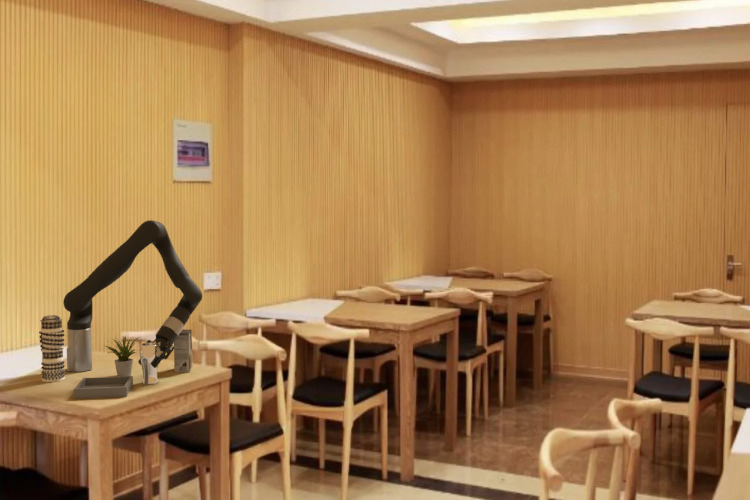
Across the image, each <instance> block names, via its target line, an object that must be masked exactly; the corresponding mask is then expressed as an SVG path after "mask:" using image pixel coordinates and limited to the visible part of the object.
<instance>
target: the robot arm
mask: <svg viewBox="0 0 750 500" xmlns="http://www.w3.org/2000/svg"><path fill="white" fill-rule="evenodd" d="M151 244H152V245H153V246H154V248H155V249H156V250H157V252H158V253H159V255H160V257H161V259H162V263H163V265H164V269H165V271H166V274H167V276H168V277H169V279H170V281H171V282H172V284H173V286H174V287H175V289H176V288H177V289H179V290H180V291H181V293H182V294H183V295H182V297H181V298H180V300H179V302H178V303H177V305H176V306H175V307H174V309H173V310H172V311H171V313H170V314H169V316H168V317H167V318H166V319H165V320H164V321H163V323H162V325H160V327H159V329H158V330H157V332H156V334H155V339H154V340H153V341H151V340H150V339H148V340H147V341H146V342H145V343H158V355H157V357H156V358H155V360H154V361H153V363H152V364H151V365H152V366H153V367H154V368H156V367H157V366H158V367H159V365H160V363H161V361H163V360H165V361H166V360H167V359H169V356H170V355H171V354H172V352H174V342H175V340H176V339H177V337H178V335H179V334H180V332H181V331H182V329H184V327H185V326H186V324H187V322H188V321H189V319H190V317H191V315H192V314H193V312H194V311H195V310H196V308H197V307H198V306H199V304H200V303H201V301H202V300H203V293H202V290H201V289H200V287H199V285H198V284H197V283H196V282H195V281H194V280H193V278H192V277H190V274H189V272H188V271H187V270H186V268H185V266H184V265H183V263H182V261H181V259H180V258H179V256H178V254H177V252H176V250H175V247H174V245H173V243H172V241H171V238H170V235H169V233H168V231H167V228H166V226H165V225H164V224H163V223H162V222H160V221H157V220H154V219H153V220H152V219H150V220H149V219H148V220H146V221H144V222H142V223H141V224H140V225H138V227H137V229H136V230H134V232H133V233H131V235H130V237H128V239H127V240H126V241H124V242H123V243H122V244H121V245H120V246H119V247H117V248H116V249H115V250H114V251H113V252H112V253H111V254H109V256H107V257H106V258H104V260H103V261H102V262H101V263H99V265H98V266H97V267H96V268H95V269H94V270H93V271H92V272H91V273H90V274H89V275H88V277H87V278H85V280H83V281H82V282H80V283H79V284H78V285H77V286H76V287H74V288H73V289H71V290H70V291H69V292H67V293H66V294H65V296H64V298H63V301H62V302H63V307H64V309H65V310H66V311H67V312H69V318H68V320H67V323H66V330H67V348H66V366H67V370H66V371H67V372H76V373H77V372H79V373H80V372H89V371H91V370H92V369H93V351H92V350H93V349H92V347H93V346H92V320H93V299H94V297H96V295H97V294H98V293H99V292H101V291H103V290H104V289H105V288H107V287H109V286H110V285H112V284H113V283H115V282H116V281H117V280H118V279H120V278H121V277H122V276H123V275H124V274H126V272H127V271H128V270H129V269H131V266H132V265H133V263H134V261H135V259H136V258H137V256H138V255H139V254H140V253H141V252H142V251H143V250H145V249H146V248H148V246H150V245H151ZM137 363H138V364H139V365H140V366H142V365H141V360H140V358H139V360H138V362H137Z"/></svg>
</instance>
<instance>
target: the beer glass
mask: <svg viewBox="0 0 750 500" xmlns="http://www.w3.org/2000/svg"><path fill="white" fill-rule="evenodd" d="M139 346H140V348H139V351H140V352H139V357H140V358H139V359H140V360H141V365H140V366H141V369H142V380H141V384H142V385H155V384H158V383H159V377H158V368H159V365H158V366H157V367H156V368H154V367H153V366H152V365H151V364H152V363H153V361H154V360H155V358H156V357H157V355H158V343H146V342H144V343H141V344H140V345H139Z"/></svg>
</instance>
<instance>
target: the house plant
mask: <svg viewBox="0 0 750 500" xmlns="http://www.w3.org/2000/svg"><path fill="white" fill-rule="evenodd" d="M133 338H135V337H132V339H133ZM140 338H141V336H139V337H137V338H135V339H133V340H132V341H131V338H130V339H128V340H127V335H125V336H122V342H121V340H119V339H118V338H117V337H115V339H113V338H111V341H113V342H114V343H115V344H116V346H115V344H113V343H112V342H111V344H113V345H114V346H115V347H116V348H117V349H116V348H114V347H112V346H108V345H104V347H106V348H107V349H108V350H110V351H109V352H107V354H110V353H113V354H114V355H115V356H116V357H117V358H118V359H117V358H116V359H114V365H115V369H116V370H115V371H116V374H117V376H116V377H120V376H132V369H133V363H134V359H133V358H130V357H131V355H133V354H134V355H135V354H137V352H135V351H136V349H132V347H134V345H135V344H136V343H137V341H138V339H140ZM130 341H131V342H130ZM107 342H109V343H110V341H108V340H107ZM126 342H127V343H126ZM130 343H131V344H130Z"/></svg>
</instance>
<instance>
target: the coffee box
mask: <svg viewBox="0 0 750 500" xmlns="http://www.w3.org/2000/svg"><path fill="white" fill-rule="evenodd" d="M192 336H193V334H192V329H184V328H183V329H182V331H181V332H180V334H179V335H178V337H177V339H176V340H175V342H174V343H173V346H174V349H173V359H174V360H173V363H174V367H173V368H174V373H191V371H192V369H193V339H192V338H193V337H192Z"/></svg>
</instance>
